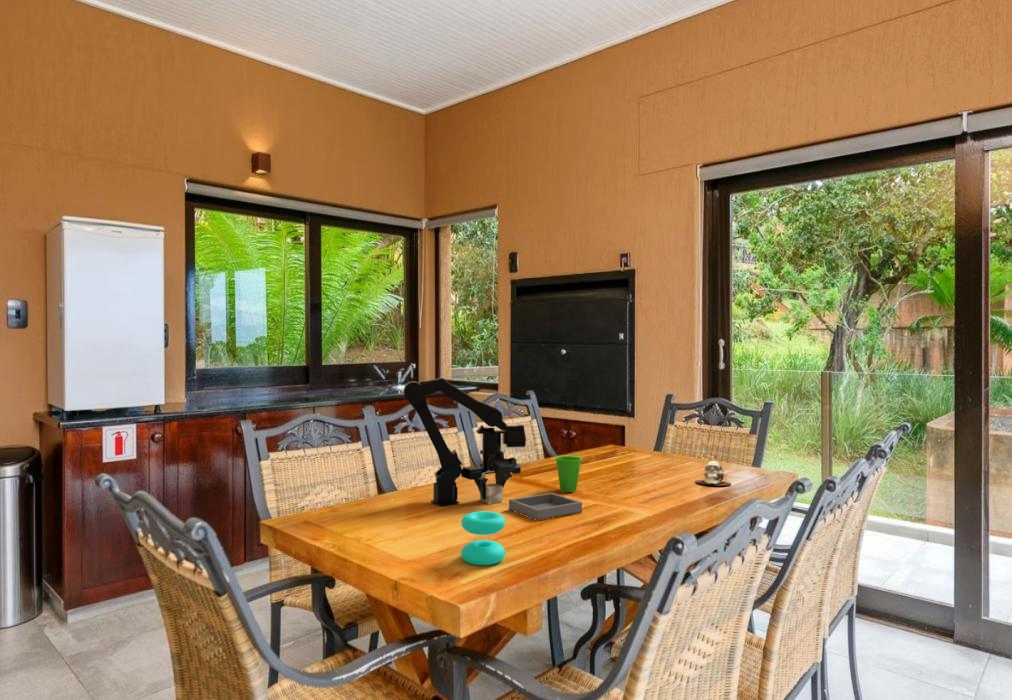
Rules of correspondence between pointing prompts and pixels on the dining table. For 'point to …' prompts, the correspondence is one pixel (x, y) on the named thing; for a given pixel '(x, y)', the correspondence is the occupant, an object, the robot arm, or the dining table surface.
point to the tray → (545, 506)
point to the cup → (568, 472)
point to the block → (493, 493)
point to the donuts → (483, 549)
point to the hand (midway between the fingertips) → (491, 498)
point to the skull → (713, 474)
